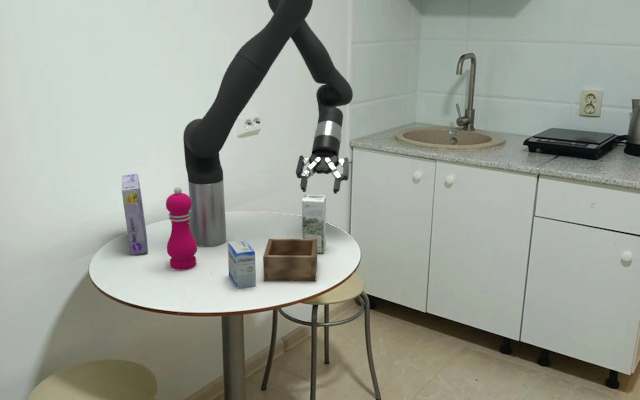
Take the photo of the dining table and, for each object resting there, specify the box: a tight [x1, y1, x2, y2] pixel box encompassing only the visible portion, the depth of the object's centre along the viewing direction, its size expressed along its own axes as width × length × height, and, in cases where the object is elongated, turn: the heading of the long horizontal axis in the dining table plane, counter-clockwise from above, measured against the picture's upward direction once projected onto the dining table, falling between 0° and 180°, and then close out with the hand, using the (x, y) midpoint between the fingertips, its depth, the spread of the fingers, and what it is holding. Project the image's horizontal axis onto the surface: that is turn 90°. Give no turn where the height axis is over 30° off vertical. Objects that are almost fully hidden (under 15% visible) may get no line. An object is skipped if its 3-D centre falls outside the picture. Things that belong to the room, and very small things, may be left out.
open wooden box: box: [262, 238, 318, 282], centre depth 141 cm, size 12×12×6 cm
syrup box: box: [301, 194, 327, 254], centre depth 153 cm, size 6×6×14 cm
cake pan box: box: [121, 173, 149, 255], centre depth 158 cm, size 19×5×18 cm, turn 18°
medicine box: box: [227, 239, 257, 289], centre depth 135 cm, size 8×4×9 cm, turn 23°
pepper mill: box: [165, 186, 198, 271], centre depth 142 cm, size 7×7×20 cm
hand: (319, 191), depth 158 cm, fingers open, 8 cm apart
